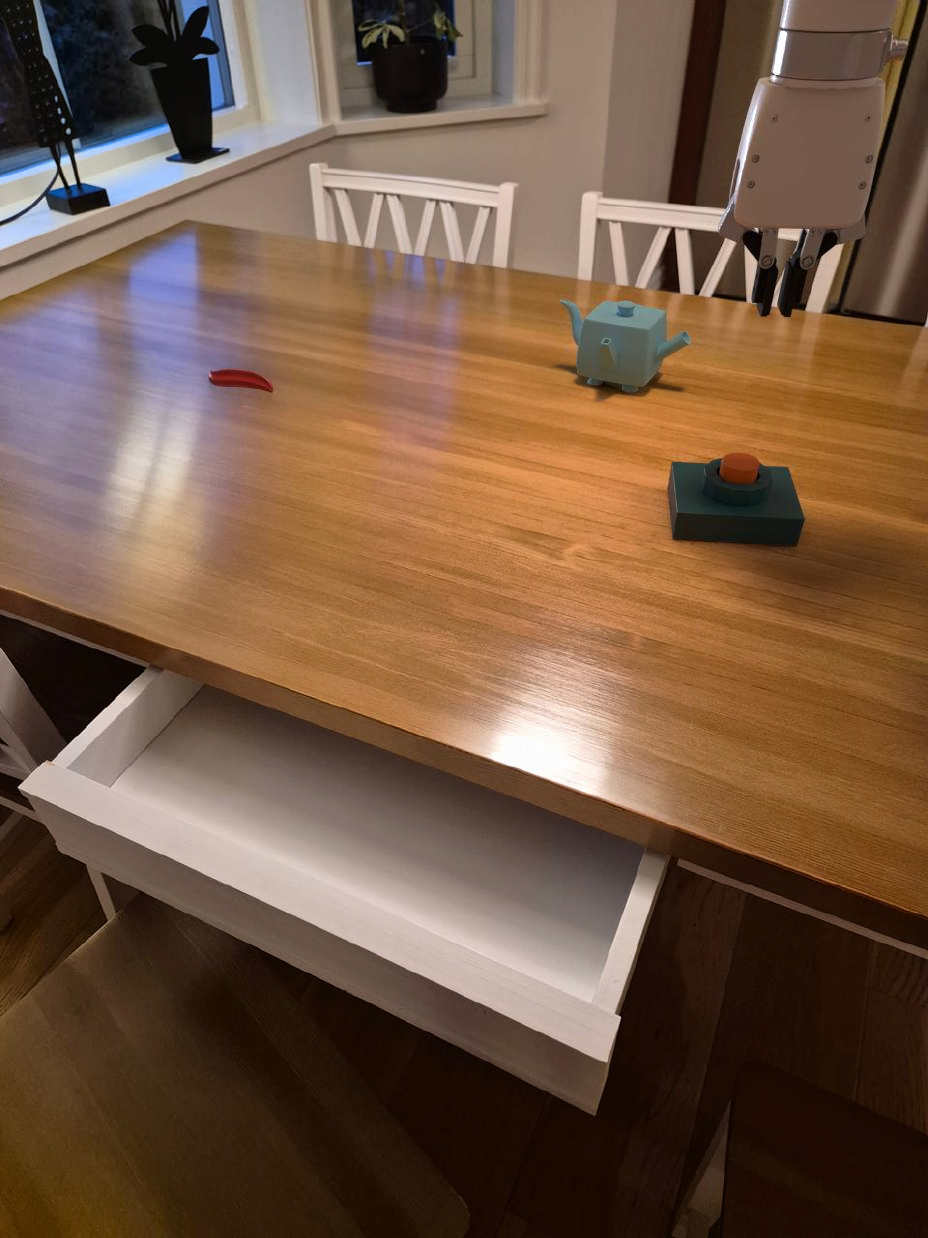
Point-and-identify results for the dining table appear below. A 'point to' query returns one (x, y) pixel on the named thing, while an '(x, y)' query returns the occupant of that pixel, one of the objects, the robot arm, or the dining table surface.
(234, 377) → the cayenne pepper
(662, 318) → the teapot
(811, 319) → the dining table surface
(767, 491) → the teal box orange button
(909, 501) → the dining table surface
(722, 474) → the orange round cap
